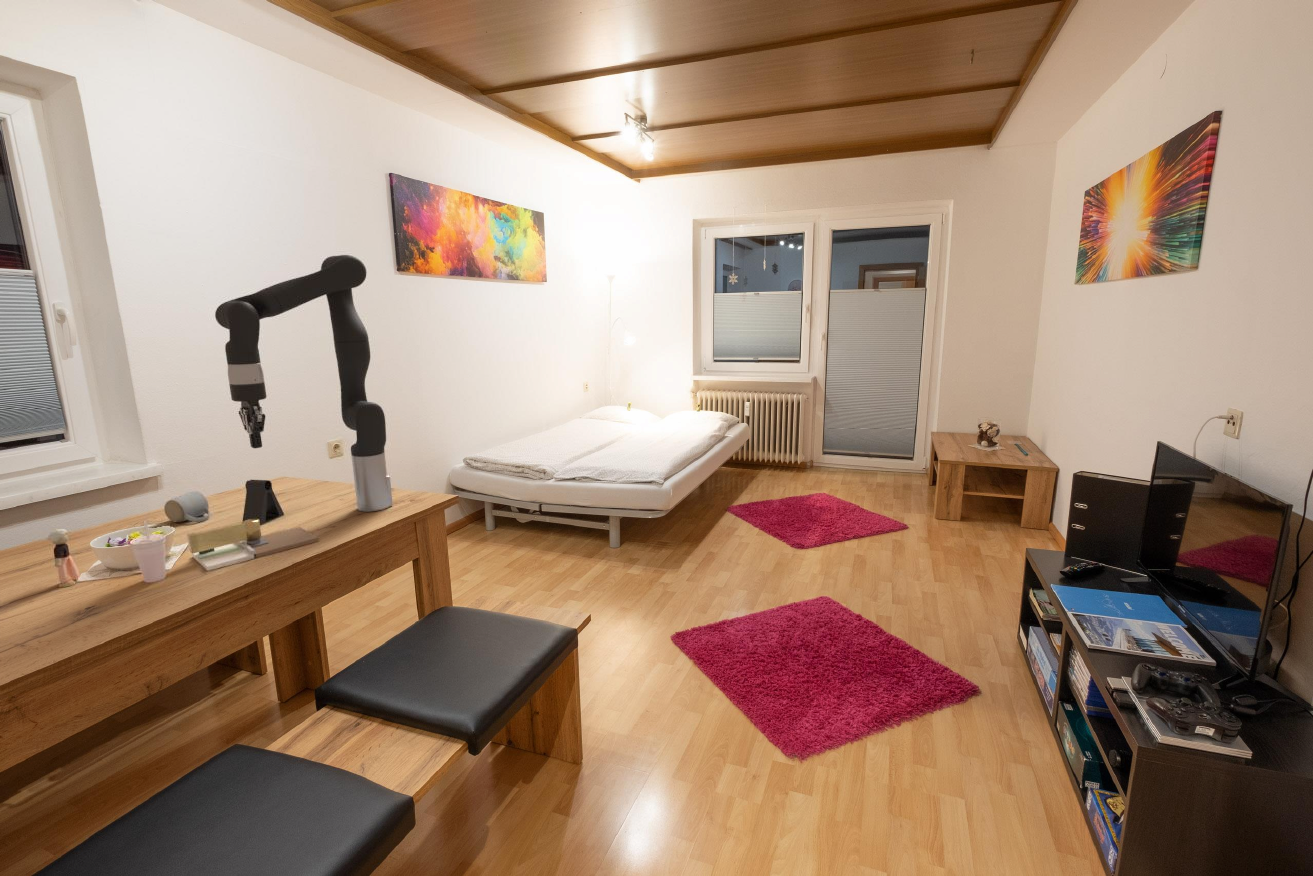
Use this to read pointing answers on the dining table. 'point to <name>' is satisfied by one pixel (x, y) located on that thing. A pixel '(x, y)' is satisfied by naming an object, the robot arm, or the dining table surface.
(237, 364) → the robot arm
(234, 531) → the swing bar
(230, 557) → the door mockup
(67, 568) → the grandmother figurine
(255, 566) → the dining table surface
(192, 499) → the ceramic mug
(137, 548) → the smoothie
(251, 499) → the phone stand
